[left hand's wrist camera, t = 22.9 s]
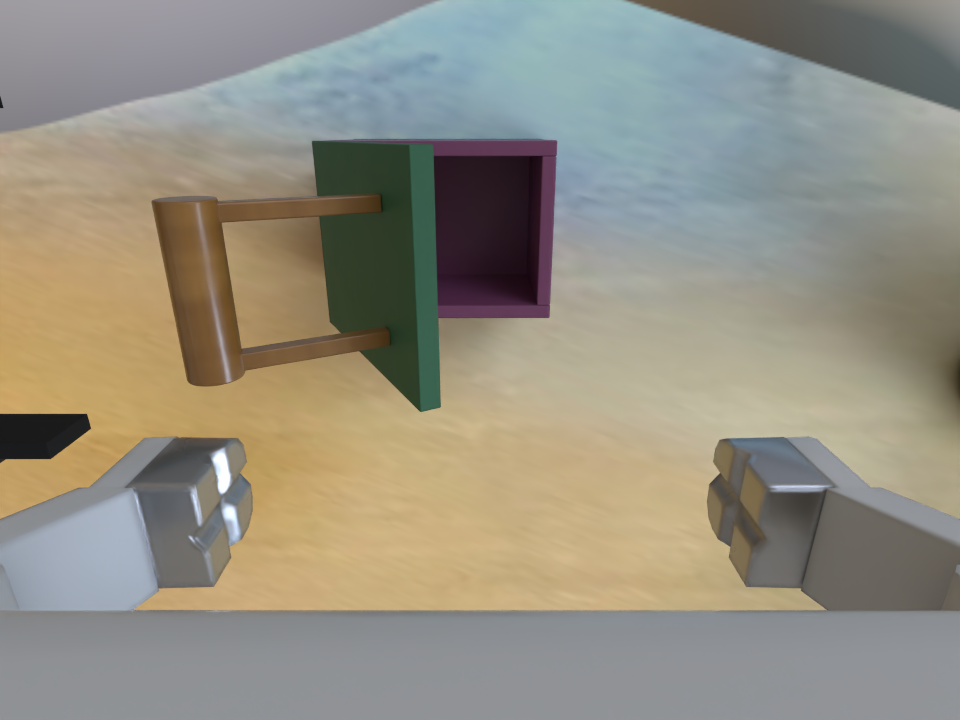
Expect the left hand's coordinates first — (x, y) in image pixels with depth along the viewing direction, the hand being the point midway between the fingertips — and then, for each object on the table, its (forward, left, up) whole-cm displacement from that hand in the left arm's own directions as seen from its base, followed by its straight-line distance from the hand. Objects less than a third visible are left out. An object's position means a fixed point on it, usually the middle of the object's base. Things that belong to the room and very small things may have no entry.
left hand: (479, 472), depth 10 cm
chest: (+2, 0, -35) cm, 35 cm away
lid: (+5, -1, -19) cm, 20 cm away
